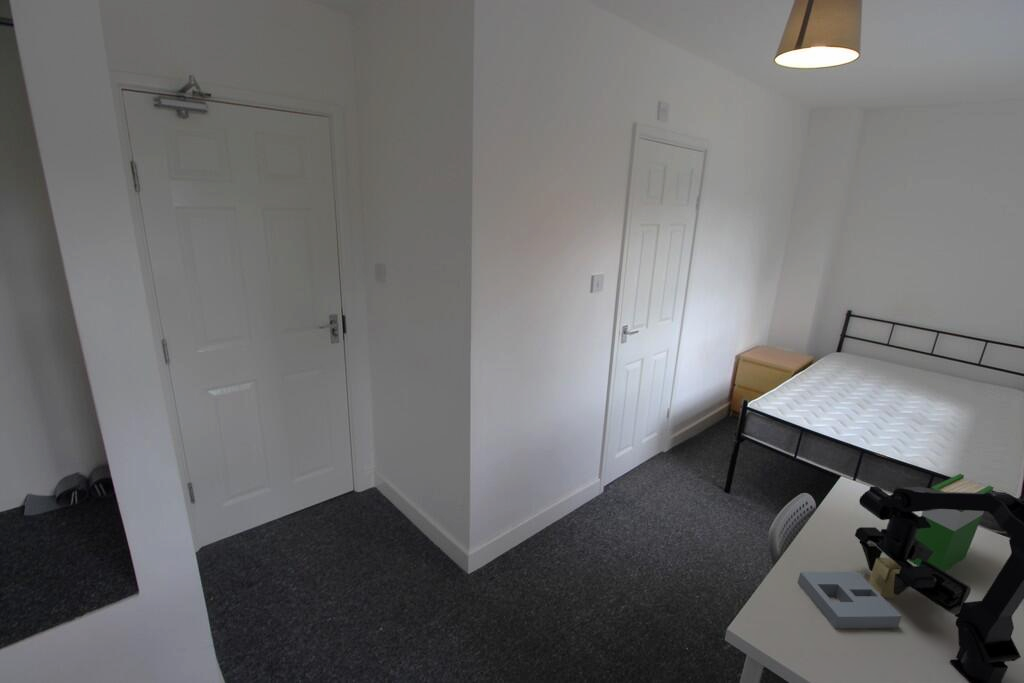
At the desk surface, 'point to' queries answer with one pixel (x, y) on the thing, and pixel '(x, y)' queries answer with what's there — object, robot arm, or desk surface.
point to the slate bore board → (848, 600)
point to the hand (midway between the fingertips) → (883, 582)
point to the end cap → (944, 588)
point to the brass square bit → (884, 576)
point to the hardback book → (950, 526)
